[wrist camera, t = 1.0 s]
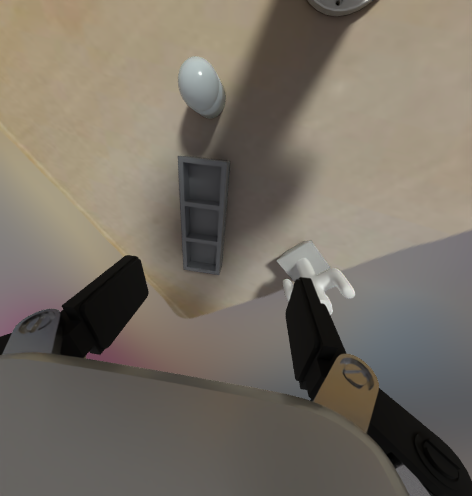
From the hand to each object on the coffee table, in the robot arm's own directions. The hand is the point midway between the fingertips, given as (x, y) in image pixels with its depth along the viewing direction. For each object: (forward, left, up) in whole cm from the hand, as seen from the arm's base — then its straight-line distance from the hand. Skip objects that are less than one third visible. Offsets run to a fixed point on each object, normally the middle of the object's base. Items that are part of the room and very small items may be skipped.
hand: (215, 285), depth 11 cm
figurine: (+10, +13, -25) cm, 30 cm away
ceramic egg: (-14, -7, -25) cm, 29 cm away
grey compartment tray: (+5, -7, -25) cm, 26 cm away
